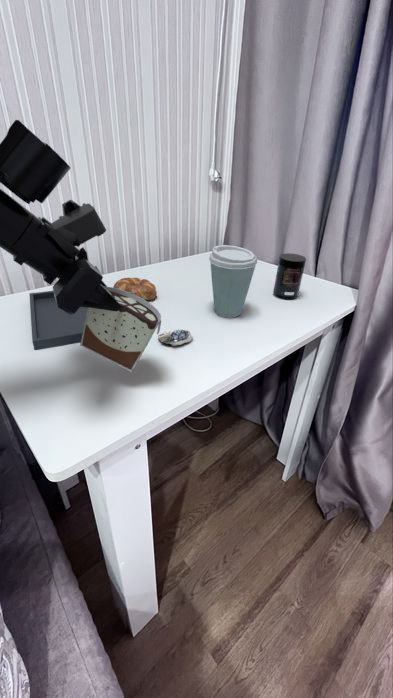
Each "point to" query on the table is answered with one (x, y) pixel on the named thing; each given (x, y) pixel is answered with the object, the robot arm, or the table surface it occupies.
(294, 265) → the supplement container
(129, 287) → the pretzel
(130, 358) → the food container
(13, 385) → the table surface
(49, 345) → the tray
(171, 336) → the crystal geode
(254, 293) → the table surface
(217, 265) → the disposable coffee cup
